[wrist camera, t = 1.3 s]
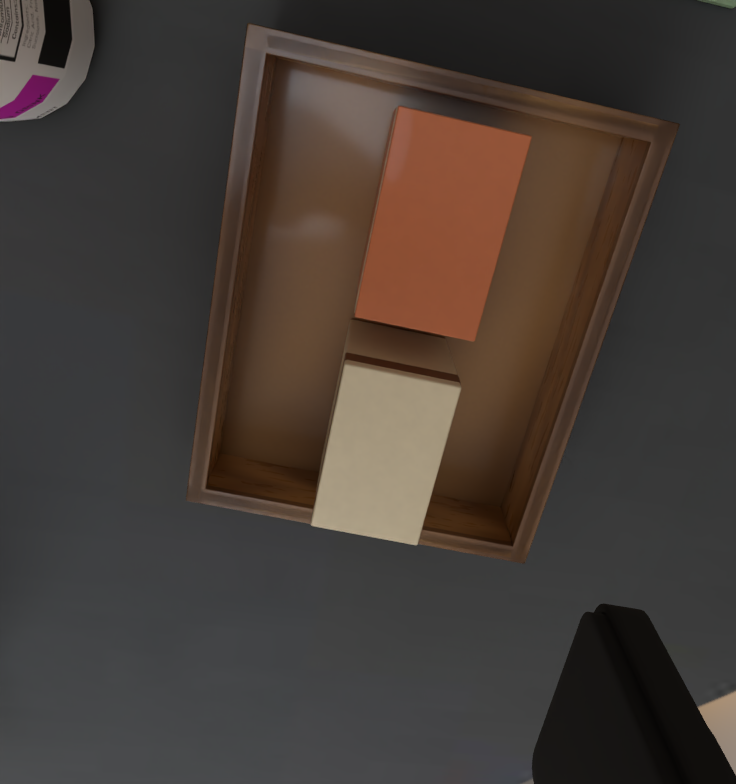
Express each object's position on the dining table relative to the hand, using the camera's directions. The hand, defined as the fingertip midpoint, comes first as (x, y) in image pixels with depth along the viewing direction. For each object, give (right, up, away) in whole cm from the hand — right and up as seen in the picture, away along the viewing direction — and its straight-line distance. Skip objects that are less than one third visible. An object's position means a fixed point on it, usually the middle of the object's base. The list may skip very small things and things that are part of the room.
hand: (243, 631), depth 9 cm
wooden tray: (+3, +8, +25) cm, 27 cm away
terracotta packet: (+5, +12, +23) cm, 26 cm away
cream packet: (+2, +3, +27) cm, 27 cm away
